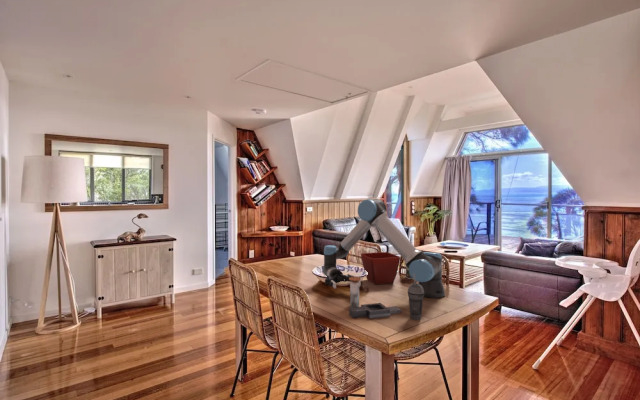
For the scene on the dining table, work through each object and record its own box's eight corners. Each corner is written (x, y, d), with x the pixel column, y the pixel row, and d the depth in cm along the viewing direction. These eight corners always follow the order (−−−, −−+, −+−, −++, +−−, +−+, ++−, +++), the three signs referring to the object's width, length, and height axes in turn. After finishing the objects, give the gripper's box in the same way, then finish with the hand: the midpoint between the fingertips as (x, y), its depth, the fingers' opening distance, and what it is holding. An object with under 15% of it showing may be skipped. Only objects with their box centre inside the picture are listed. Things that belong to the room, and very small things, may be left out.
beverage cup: (414, 322, 145) (414, 276, 145) (403, 316, 152) (404, 272, 152) (427, 319, 148) (428, 274, 148) (416, 314, 155) (417, 271, 154)
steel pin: (361, 305, 168) (361, 276, 167) (358, 308, 162) (358, 279, 162) (351, 303, 170) (351, 275, 170) (347, 307, 165) (347, 278, 164)
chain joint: (393, 307, 164) (393, 301, 164) (403, 314, 154) (403, 308, 154) (347, 312, 157) (347, 306, 157) (355, 320, 148) (355, 313, 148)
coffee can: (421, 280, 214) (421, 258, 214) (404, 279, 218) (404, 257, 217) (422, 276, 224) (422, 255, 223) (406, 275, 227) (406, 254, 227)
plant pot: (360, 278, 219) (360, 253, 218) (387, 276, 223) (387, 251, 223) (371, 286, 200) (371, 258, 200) (400, 284, 205) (401, 257, 204)
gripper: (355, 280, 199) (369, 290, 179) (314, 283, 192) (324, 293, 172) (355, 267, 199) (369, 276, 179) (314, 270, 192) (324, 279, 172)
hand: (347, 284), depth 175 cm, fingers open, 13 cm apart
